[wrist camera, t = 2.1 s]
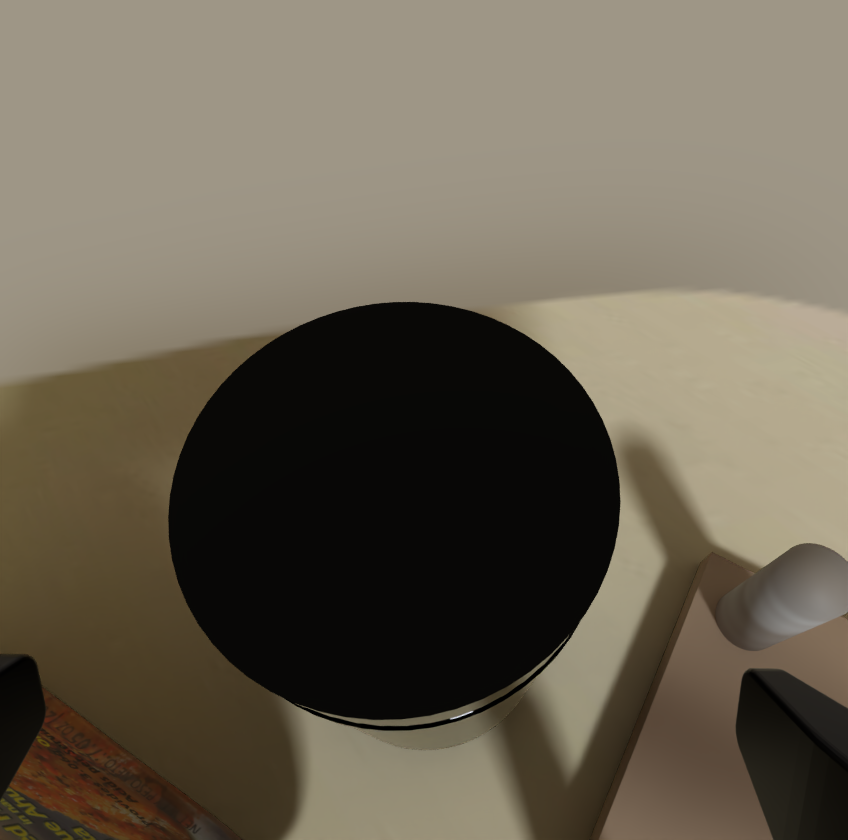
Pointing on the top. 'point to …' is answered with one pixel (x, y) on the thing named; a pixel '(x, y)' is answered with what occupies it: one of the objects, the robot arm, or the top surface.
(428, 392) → the supplement container
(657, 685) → the cradle
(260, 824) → the top surface
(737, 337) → the top surface
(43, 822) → the tin
